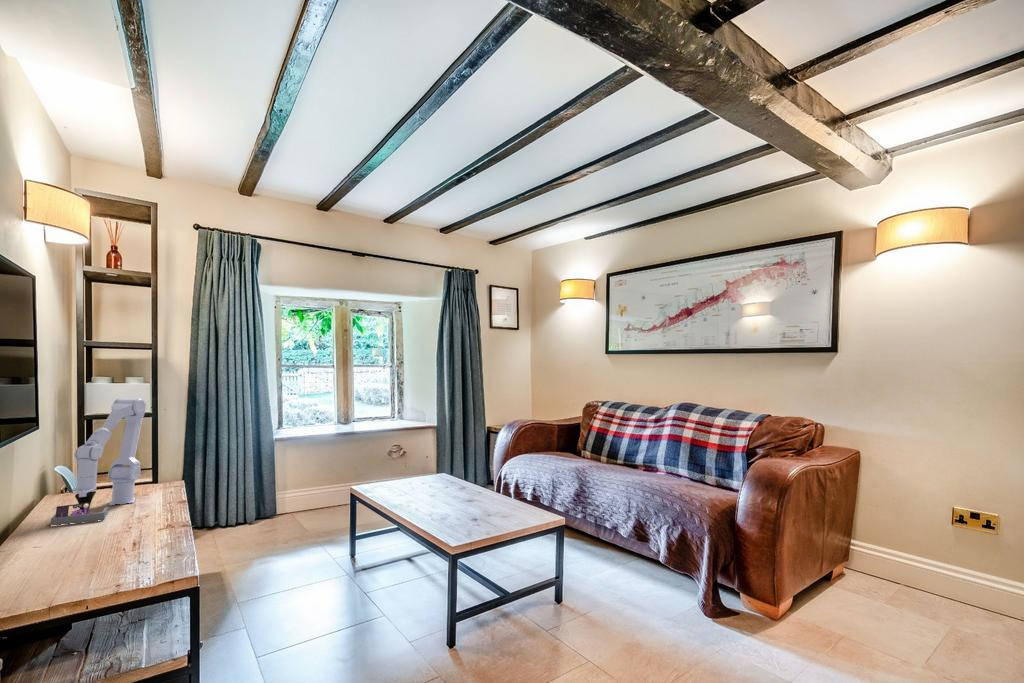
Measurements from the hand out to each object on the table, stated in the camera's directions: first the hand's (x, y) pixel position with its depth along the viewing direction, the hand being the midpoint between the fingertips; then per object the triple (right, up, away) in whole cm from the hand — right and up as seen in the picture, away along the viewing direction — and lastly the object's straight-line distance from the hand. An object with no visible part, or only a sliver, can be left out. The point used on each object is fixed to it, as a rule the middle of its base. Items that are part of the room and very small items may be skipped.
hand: (84, 512), depth 182 cm
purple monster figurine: (+3, -1, -8) cm, 8 cm away
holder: (+4, -1, -6) cm, 7 cm away
